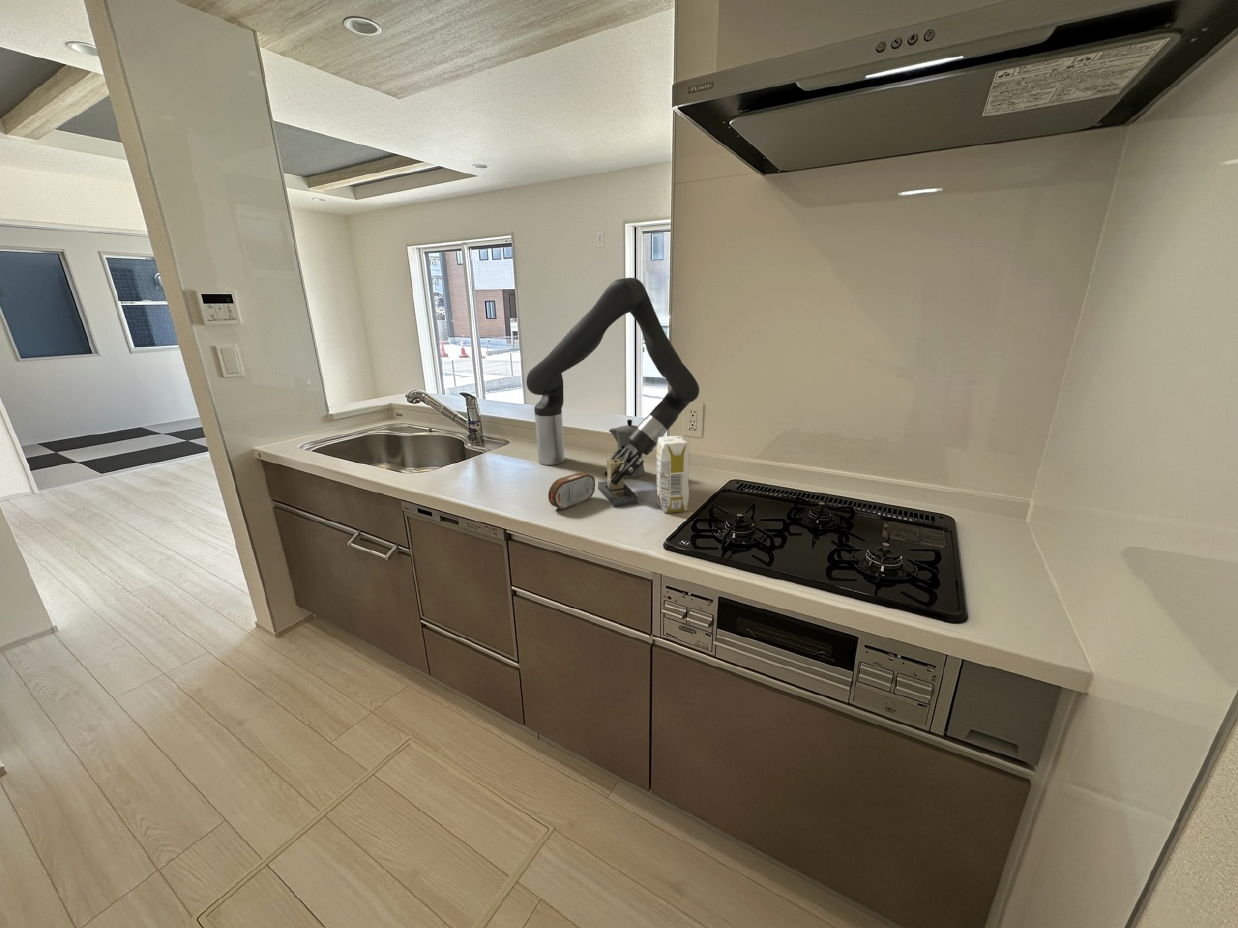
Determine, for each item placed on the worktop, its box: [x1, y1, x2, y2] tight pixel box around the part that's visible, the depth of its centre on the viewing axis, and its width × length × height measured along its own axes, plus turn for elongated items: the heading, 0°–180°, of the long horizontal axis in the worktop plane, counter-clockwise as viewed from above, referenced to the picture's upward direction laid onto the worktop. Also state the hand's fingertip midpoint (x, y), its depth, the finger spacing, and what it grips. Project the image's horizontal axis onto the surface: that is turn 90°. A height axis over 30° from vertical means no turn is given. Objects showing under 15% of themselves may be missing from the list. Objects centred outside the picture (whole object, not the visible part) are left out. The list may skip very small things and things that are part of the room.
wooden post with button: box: [606, 459, 625, 492], centre depth 139 cm, size 4×4×10 cm
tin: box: [547, 471, 596, 510], centre depth 133 cm, size 15×3×8 cm, turn 135°
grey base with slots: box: [597, 480, 639, 508], centre depth 139 cm, size 15×7×2 cm, turn 19°
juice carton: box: [656, 435, 691, 514], centre depth 128 cm, size 8×9×19 cm
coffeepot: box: [608, 419, 654, 479], centre depth 154 cm, size 15×9×18 cm, turn 83°
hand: (609, 479), depth 139 cm, fingers open, 5 cm apart
